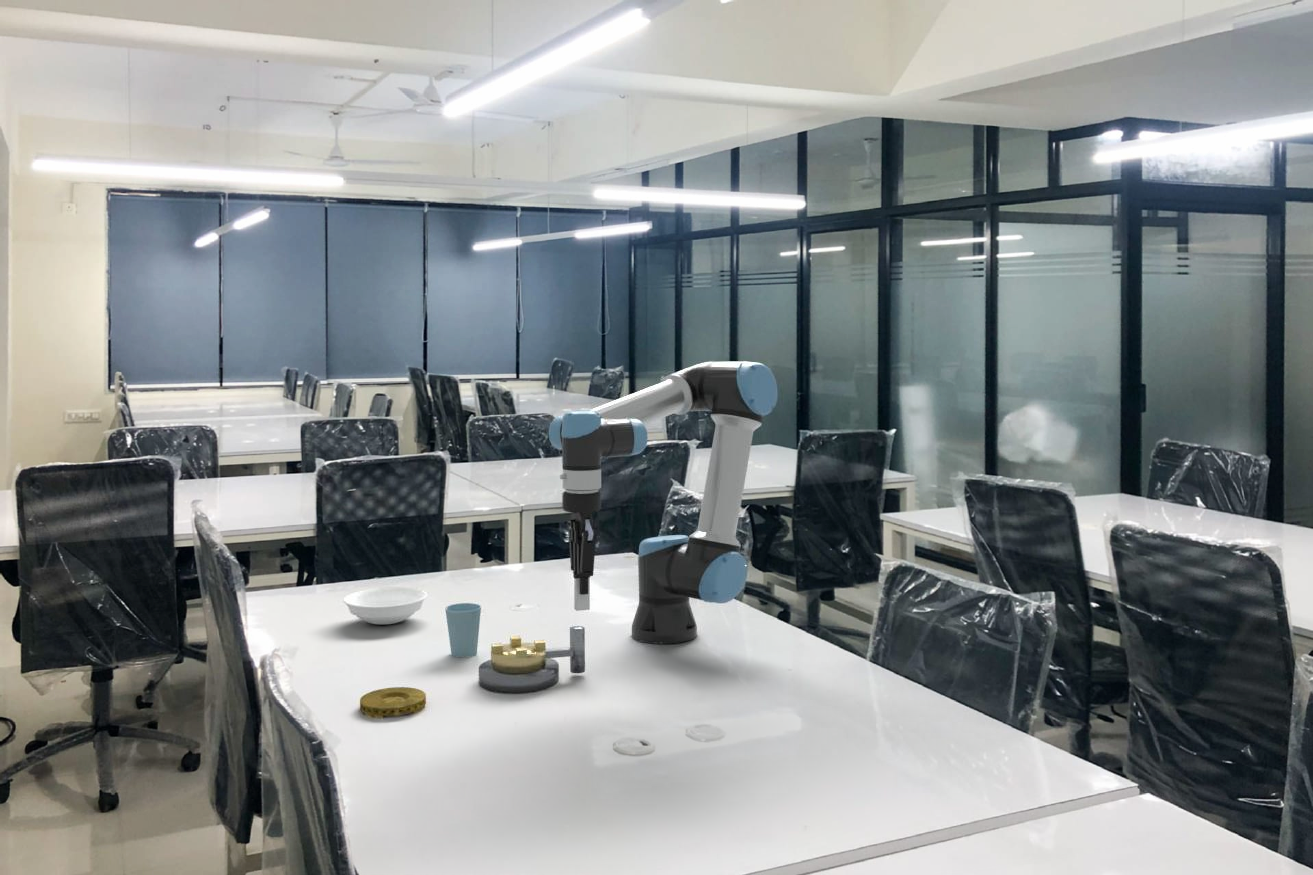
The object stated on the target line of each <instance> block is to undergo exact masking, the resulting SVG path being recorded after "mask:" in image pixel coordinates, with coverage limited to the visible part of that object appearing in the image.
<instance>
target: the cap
mask: <svg viewBox="0 0 1313 875" xmlns="http://www.w3.org/2000/svg"><path fill="white" fill-rule="evenodd" d="M559 667H560V665H559V663H558V661H557V660H555V658H546V666H545V667H544V668H542V669H540V670H537V671H533V672H528V673H502V672H498V671H495V670H493V669H492V667H491V659H488V660H486V661H484V662H482V663H481V664H479V666H478V684H479V687H480V688H481V689H483V690H485V691H488V692H491V693H494V694H495V693H496V694H502V695H504V694H505V695H523V694H524V695H525V694H532V693H538V692H542V691H545V690H549V689H550V688H551V689H552V688H553V687H555V686H556V685H558V684H559V681H560V668H559Z"/></svg>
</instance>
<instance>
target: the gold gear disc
mask: <svg viewBox="0 0 1313 875" xmlns="http://www.w3.org/2000/svg"><path fill="white" fill-rule="evenodd" d="M426 703H427V694H426V692H425V691H423V690H422V689H419V688H414V687H406V686H401V687H399V686H397V687H396V686H395V687H386V688H380V689H375V690H373V691H369V692H368V693H366V694H363V695H362V696H361V697H360V698H359V709H360V710H361V711H362V712H363V713H365V717H369V718H373V719H383V718H384V717H394V716H401V715H406V714H413V715H415V714H417V713H420V712H422V711H423V710H424V709H426Z"/></svg>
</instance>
